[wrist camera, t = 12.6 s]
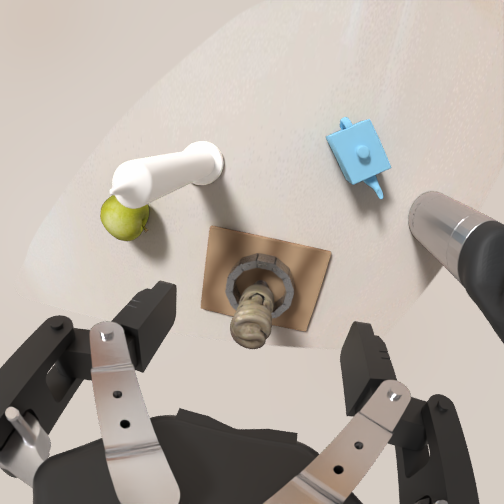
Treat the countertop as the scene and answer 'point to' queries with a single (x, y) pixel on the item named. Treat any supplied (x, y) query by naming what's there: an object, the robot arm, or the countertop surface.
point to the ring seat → (268, 264)
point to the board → (263, 273)
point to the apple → (123, 219)
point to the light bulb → (253, 316)
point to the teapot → (359, 153)
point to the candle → (165, 174)
